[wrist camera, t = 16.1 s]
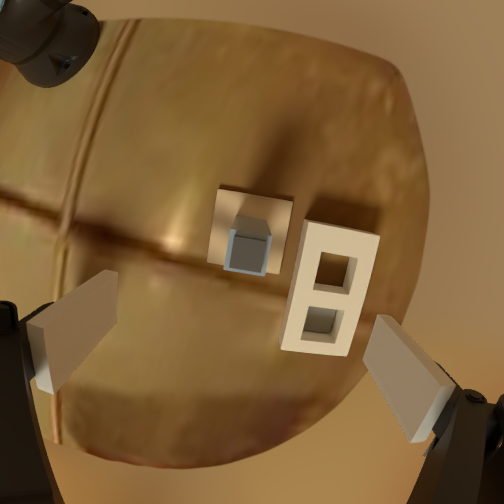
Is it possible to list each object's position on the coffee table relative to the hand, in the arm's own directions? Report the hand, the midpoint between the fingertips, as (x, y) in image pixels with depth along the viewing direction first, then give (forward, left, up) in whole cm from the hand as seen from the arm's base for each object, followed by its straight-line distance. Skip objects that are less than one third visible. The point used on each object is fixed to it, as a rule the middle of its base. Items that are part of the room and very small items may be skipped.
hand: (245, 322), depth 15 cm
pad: (0, 0, -29) cm, 29 cm away
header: (+6, +12, -29) cm, 32 cm away
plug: (0, 0, -28) cm, 28 cm away
